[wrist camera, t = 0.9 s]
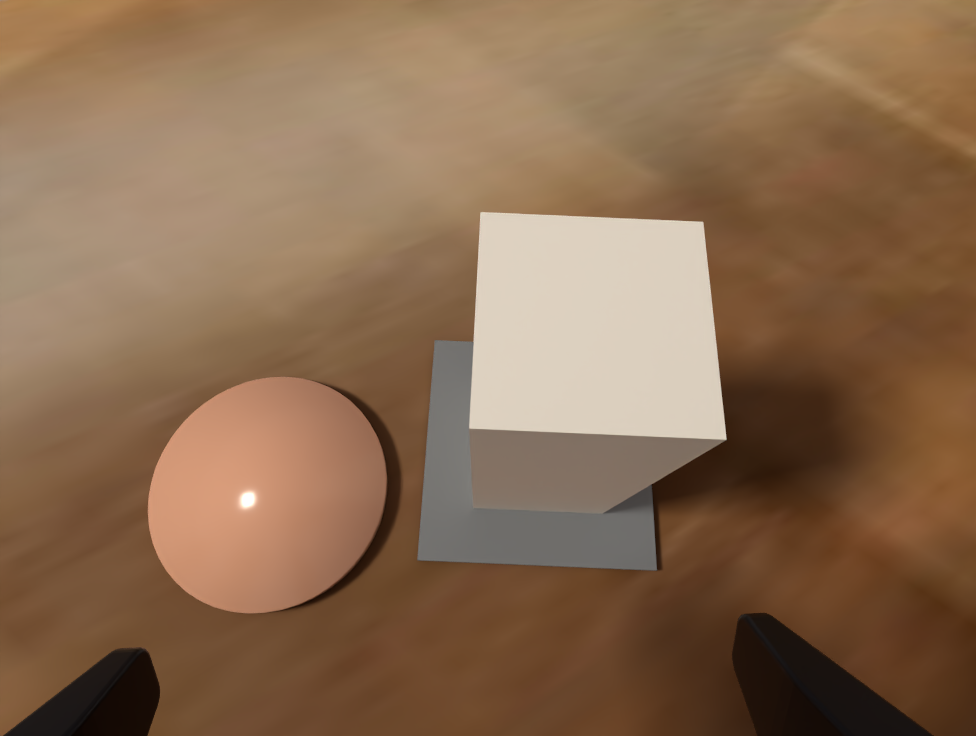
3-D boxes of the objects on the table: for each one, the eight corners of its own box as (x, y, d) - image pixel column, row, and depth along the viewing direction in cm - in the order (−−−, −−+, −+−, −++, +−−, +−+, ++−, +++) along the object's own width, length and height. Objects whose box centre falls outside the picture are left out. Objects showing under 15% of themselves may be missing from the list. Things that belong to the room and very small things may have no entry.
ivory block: (602, 513, 22) (726, 439, 11) (473, 508, 22) (468, 428, 11) (598, 391, 24) (703, 221, 13) (479, 386, 24) (480, 212, 13)
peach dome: (431, 454, 23) (430, 451, 23) (289, 664, 21) (284, 666, 20) (259, 344, 25) (254, 338, 25) (106, 525, 22) (97, 523, 22)
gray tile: (654, 570, 22) (657, 570, 22) (418, 560, 22) (417, 560, 22) (641, 352, 25) (643, 349, 25) (435, 343, 25) (435, 340, 25)
